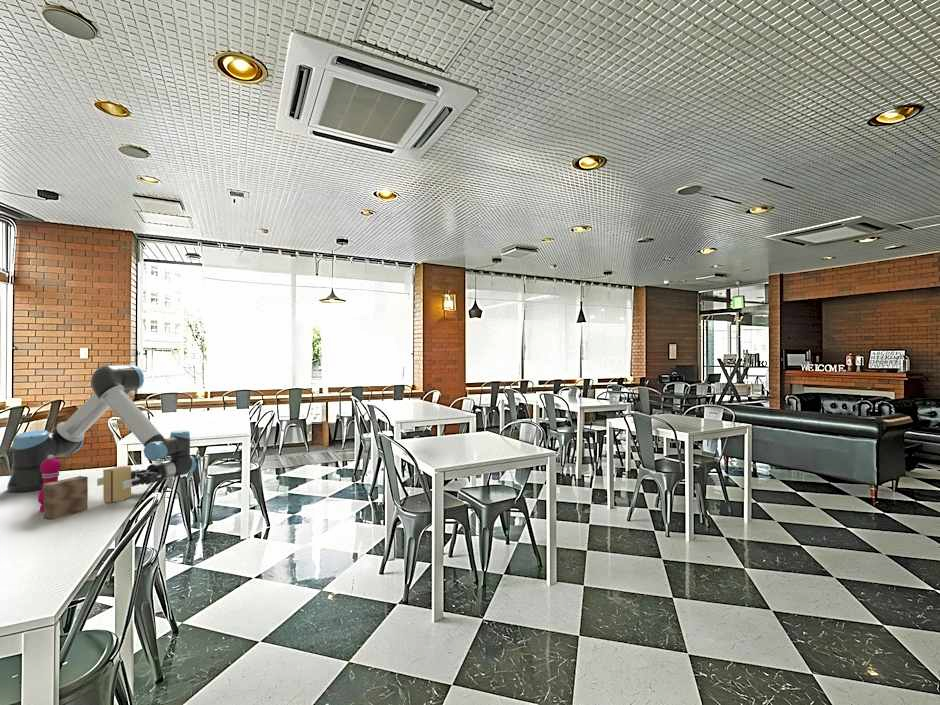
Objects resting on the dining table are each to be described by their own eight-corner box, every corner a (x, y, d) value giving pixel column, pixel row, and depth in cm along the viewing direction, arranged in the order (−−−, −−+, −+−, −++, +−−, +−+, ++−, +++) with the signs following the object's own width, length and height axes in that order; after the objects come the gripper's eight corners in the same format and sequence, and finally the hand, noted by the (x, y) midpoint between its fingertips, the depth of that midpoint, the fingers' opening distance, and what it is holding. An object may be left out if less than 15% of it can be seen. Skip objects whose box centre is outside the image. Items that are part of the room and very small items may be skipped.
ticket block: (80, 508, 189) (80, 476, 189) (87, 509, 188) (87, 476, 188) (43, 518, 178) (43, 483, 178) (51, 520, 177) (51, 485, 176)
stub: (123, 496, 205) (123, 465, 205) (131, 497, 203) (131, 466, 203) (103, 501, 197) (103, 470, 197) (110, 502, 196) (110, 470, 196)
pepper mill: (49, 513, 184) (48, 457, 184) (32, 512, 185) (32, 456, 185) (68, 507, 191) (68, 453, 191) (52, 506, 192) (52, 452, 192)
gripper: (182, 483, 213) (133, 496, 193) (139, 477, 222) (87, 490, 202) (182, 464, 213) (133, 476, 193) (139, 460, 222) (87, 471, 202)
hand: (110, 483), depth 198 cm, fingers open, 13 cm apart
